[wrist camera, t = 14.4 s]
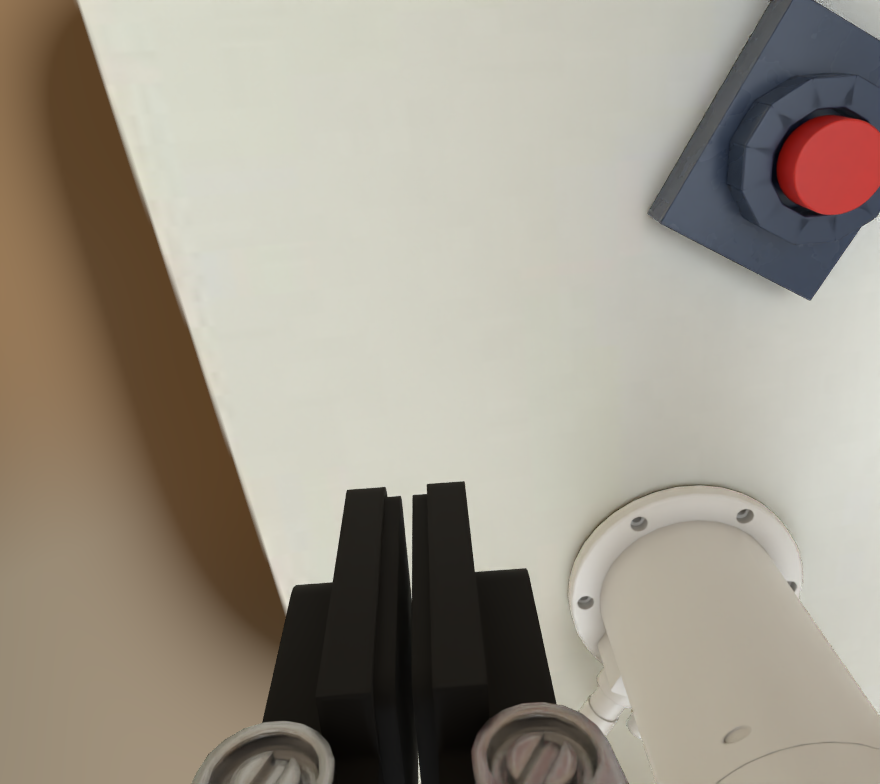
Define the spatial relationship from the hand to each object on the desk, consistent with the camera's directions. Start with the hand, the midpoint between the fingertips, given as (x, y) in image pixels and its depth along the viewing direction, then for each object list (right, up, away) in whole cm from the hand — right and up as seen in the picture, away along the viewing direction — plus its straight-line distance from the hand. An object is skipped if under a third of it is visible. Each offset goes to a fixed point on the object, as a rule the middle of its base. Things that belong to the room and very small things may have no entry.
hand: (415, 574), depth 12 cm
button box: (+16, +13, +24) cm, 32 cm away
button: (+16, +12, +21) cm, 29 cm away
